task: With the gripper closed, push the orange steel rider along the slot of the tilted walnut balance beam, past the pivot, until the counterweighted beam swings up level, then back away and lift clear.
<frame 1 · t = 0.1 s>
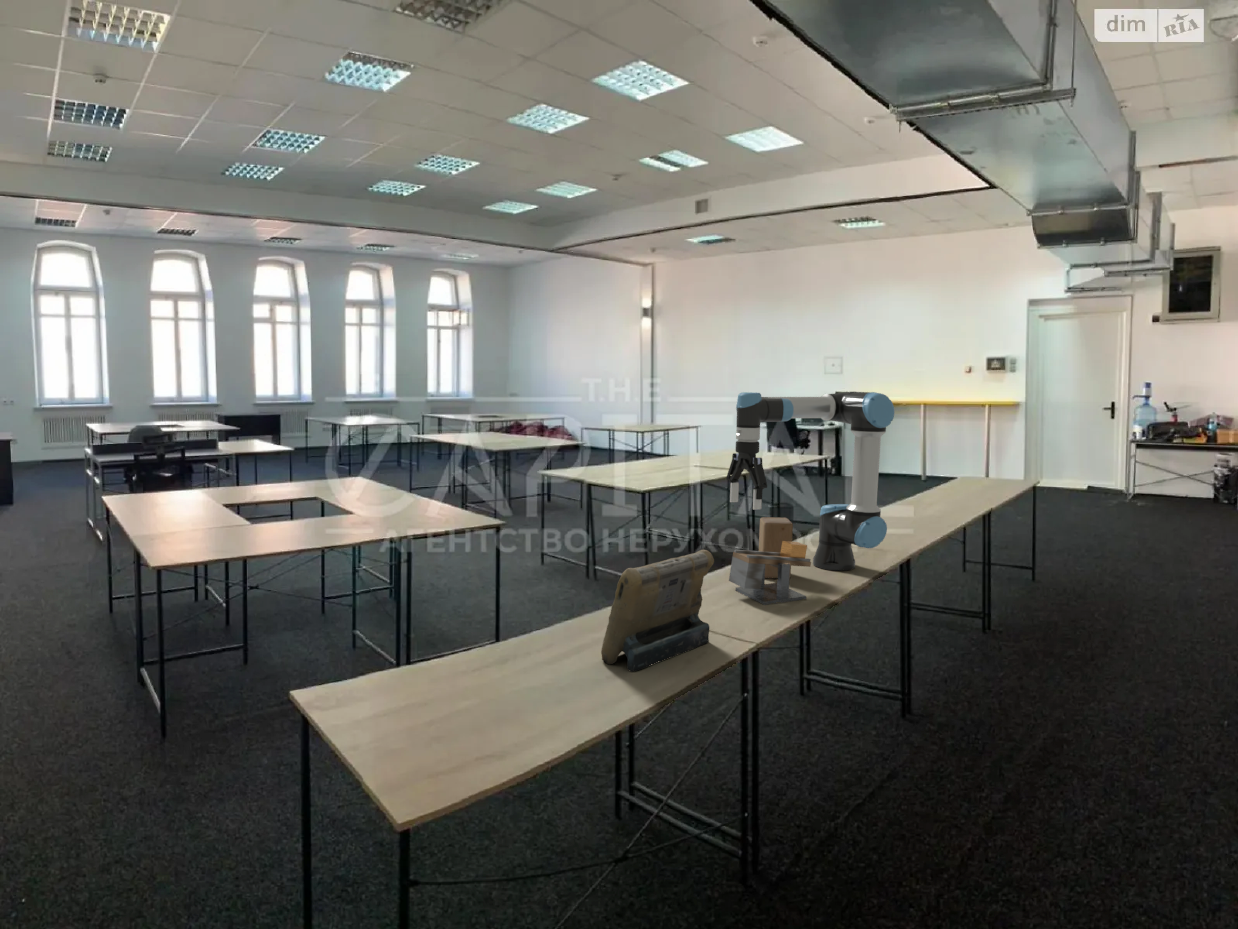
hand: (745, 505, 246), 28 cm above the table, tool pointing down, fingers open, 13 cm apart
wooden block: (773, 576, 267), on the table
beam: (770, 570, 242), point 8 cm above the table, hinge at -8.2°, touching rider
pivot stand: (770, 594, 244), on the table
tablet: (658, 652, 194), on the table
rider: (792, 558, 246), point 11 cm above the table, tilted 8°, touching beam
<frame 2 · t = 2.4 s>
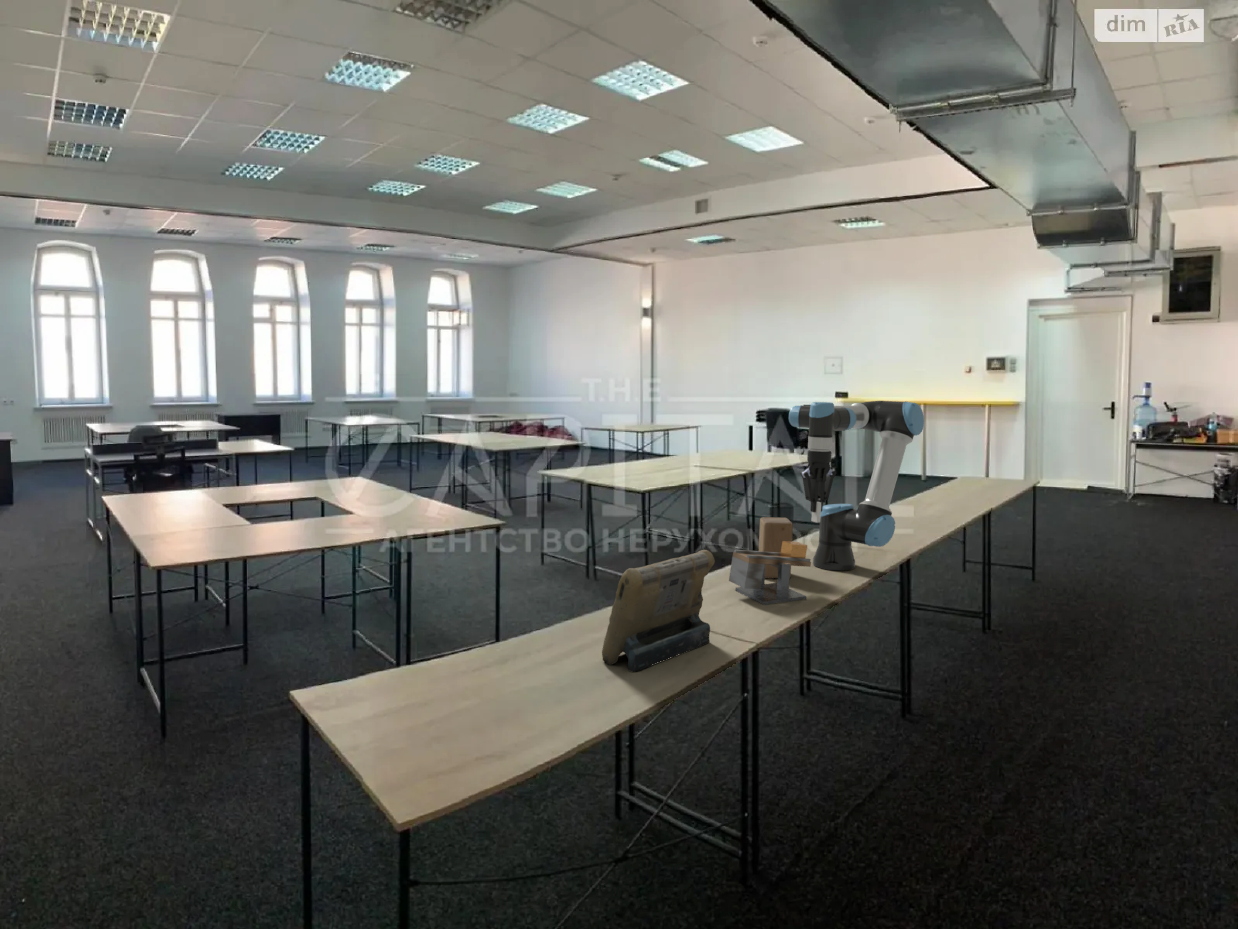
hand: (815, 521, 248), 23 cm above the table, tool pointing down, fingers closed
nothing on the table moved.
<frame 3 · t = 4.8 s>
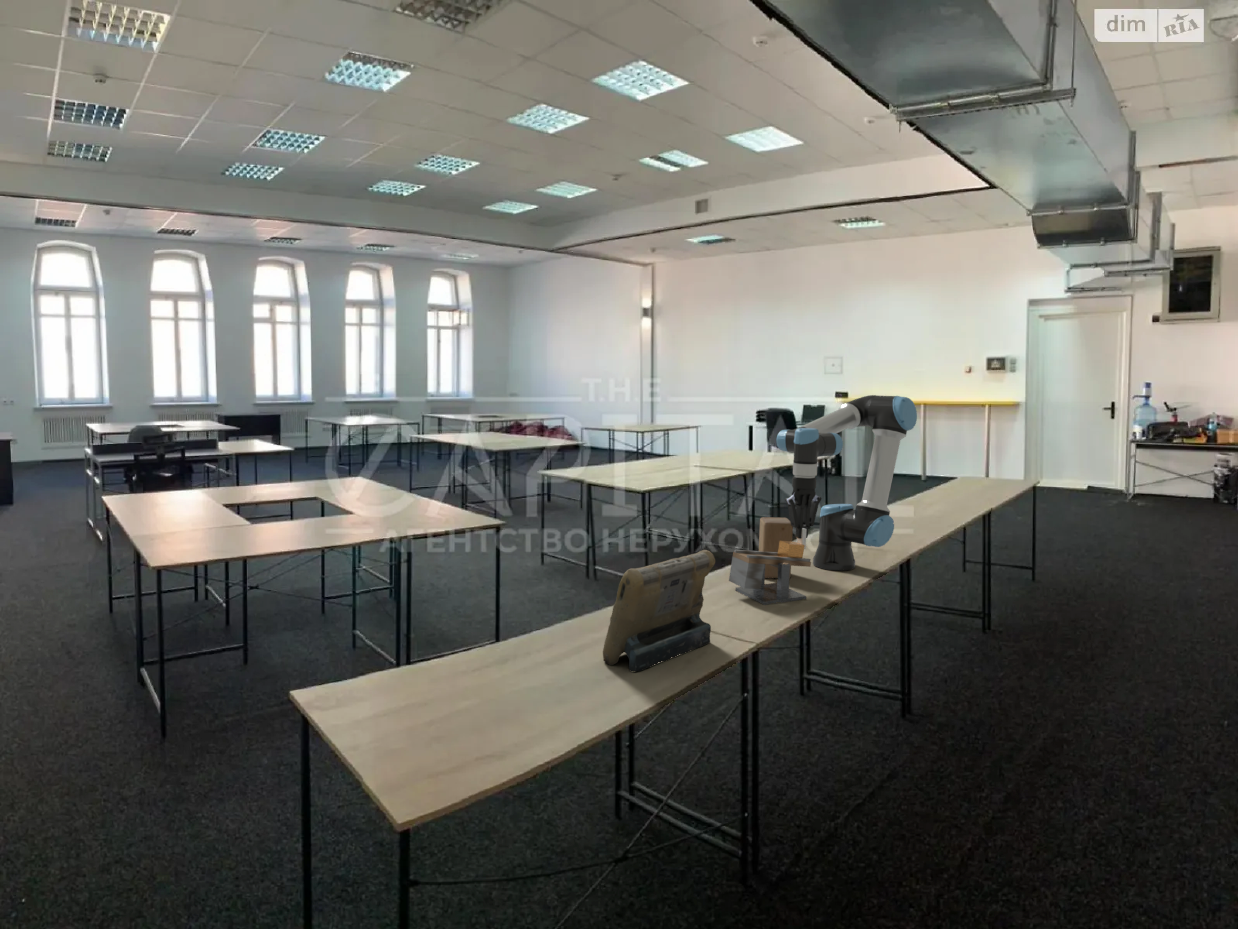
hand: (801, 547, 246), 15 cm above the table, tool pointing down, fingers closed
beam: (770, 570, 242), point 8 cm above the table, hinge at -8.1°
rider: (789, 558, 245), point 12 cm above the table, tilted 8°, touching gripper
everything else where it was.
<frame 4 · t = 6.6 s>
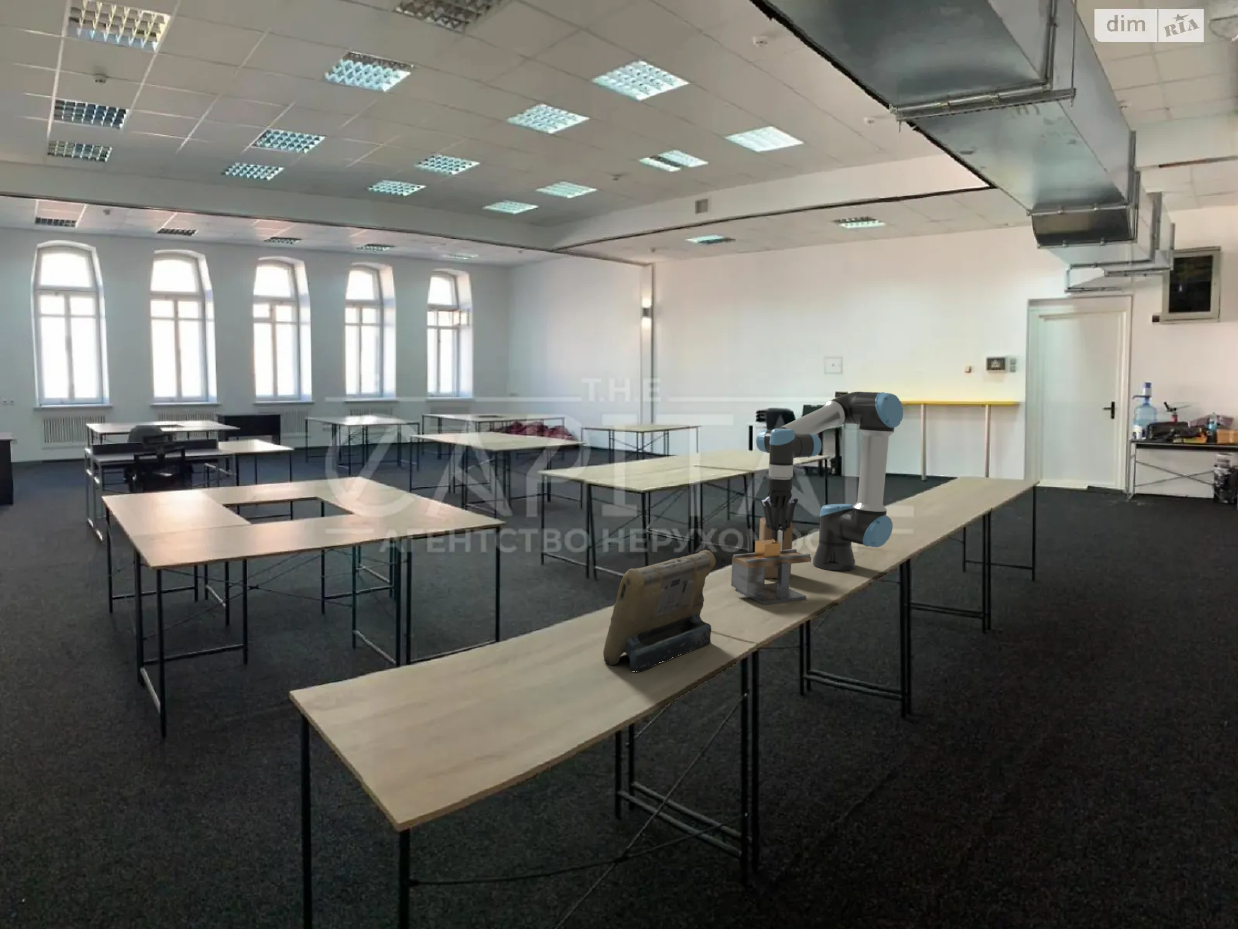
hand: (777, 550, 243), 15 cm above the table, tool pointing down, fingers closed
beam: (771, 570, 243), point 8 cm above the table, hinge at -0.2°, touching rider
rider: (767, 557, 241), point 13 cm above the table, touching beam, gripper
everything else where it was.
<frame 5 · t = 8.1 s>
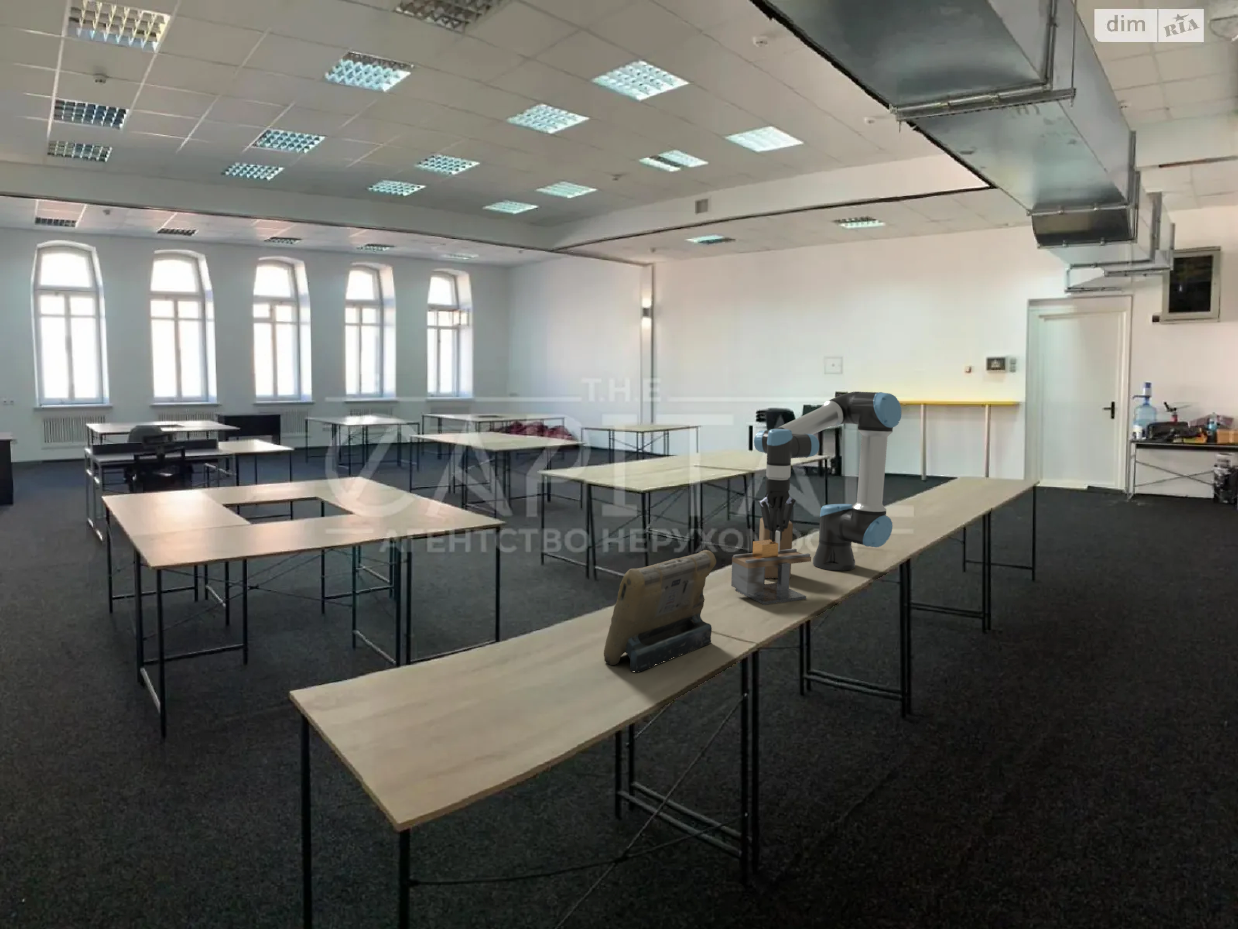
hand: (775, 550, 242), 14 cm above the table, tool pointing down, fingers closed
beam: (771, 570, 243), point 8 cm above the table, hinge at 0.1°, touching rider
everything else where it was.
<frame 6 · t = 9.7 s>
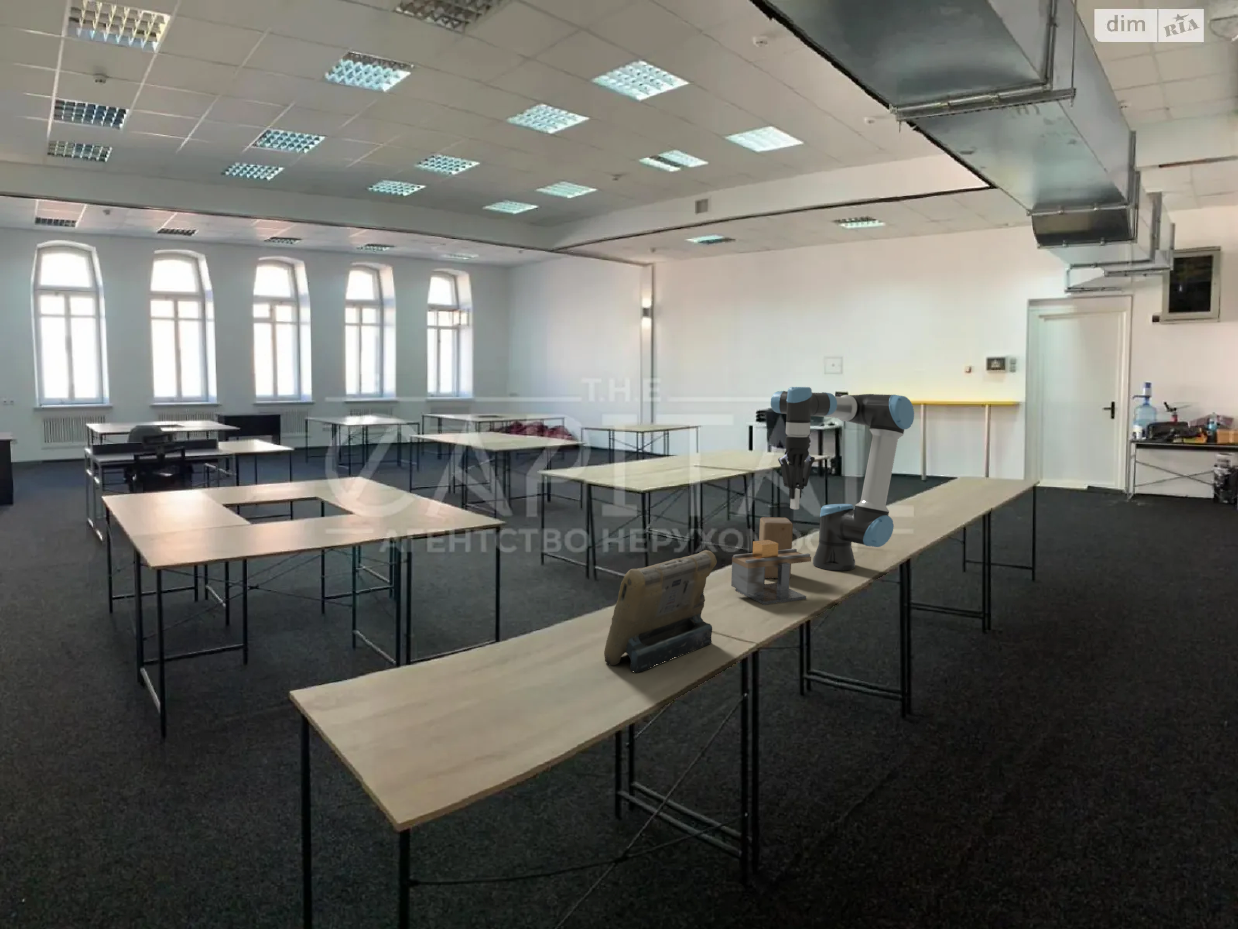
hand: (794, 508, 244), 28 cm above the table, tool pointing down, fingers closed
rider: (765, 557, 241), point 12 cm above the table, touching beam
everything else where it was.
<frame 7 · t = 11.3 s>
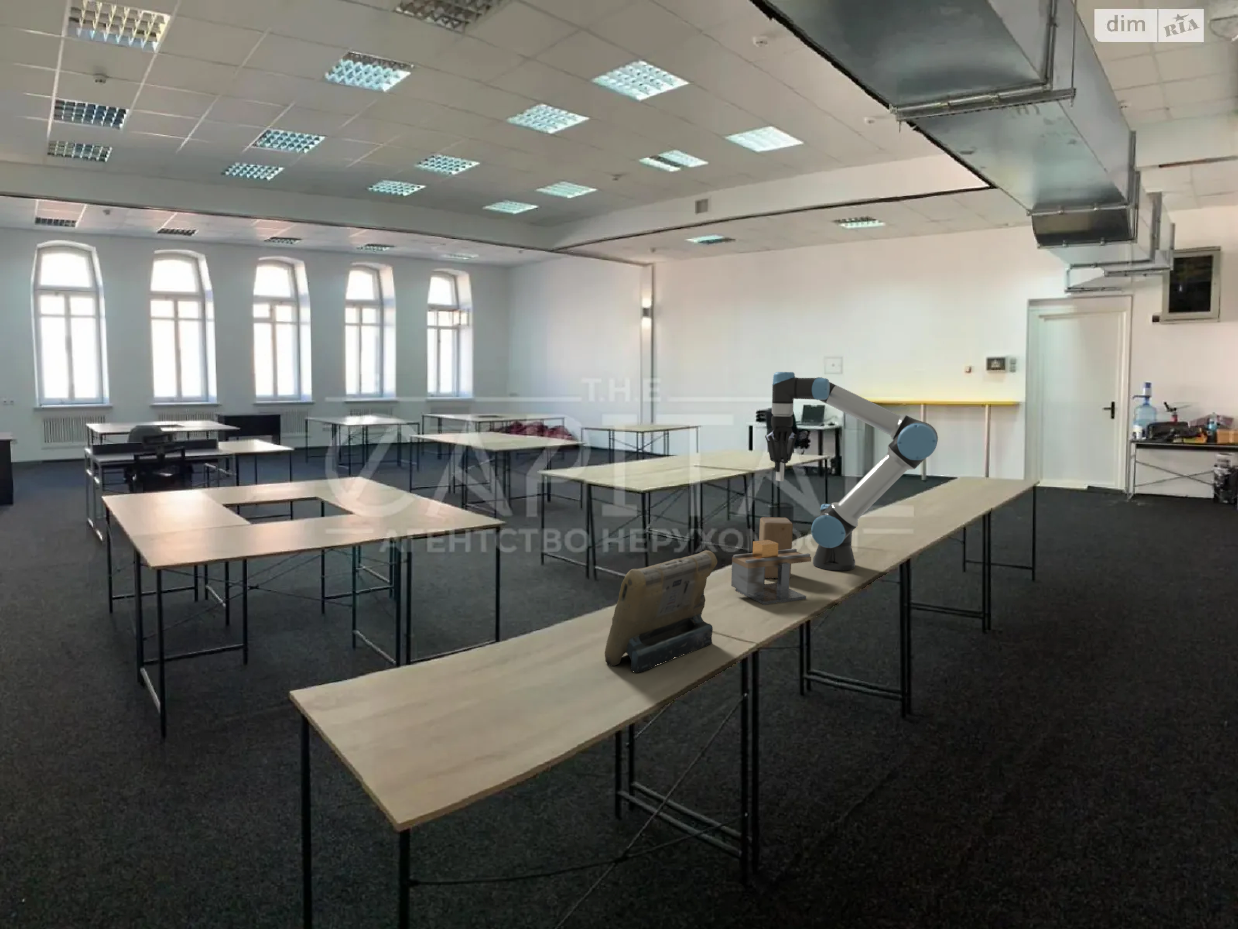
hand: (779, 480, 273), 32 cm above the table, tool pointing down, fingers closed
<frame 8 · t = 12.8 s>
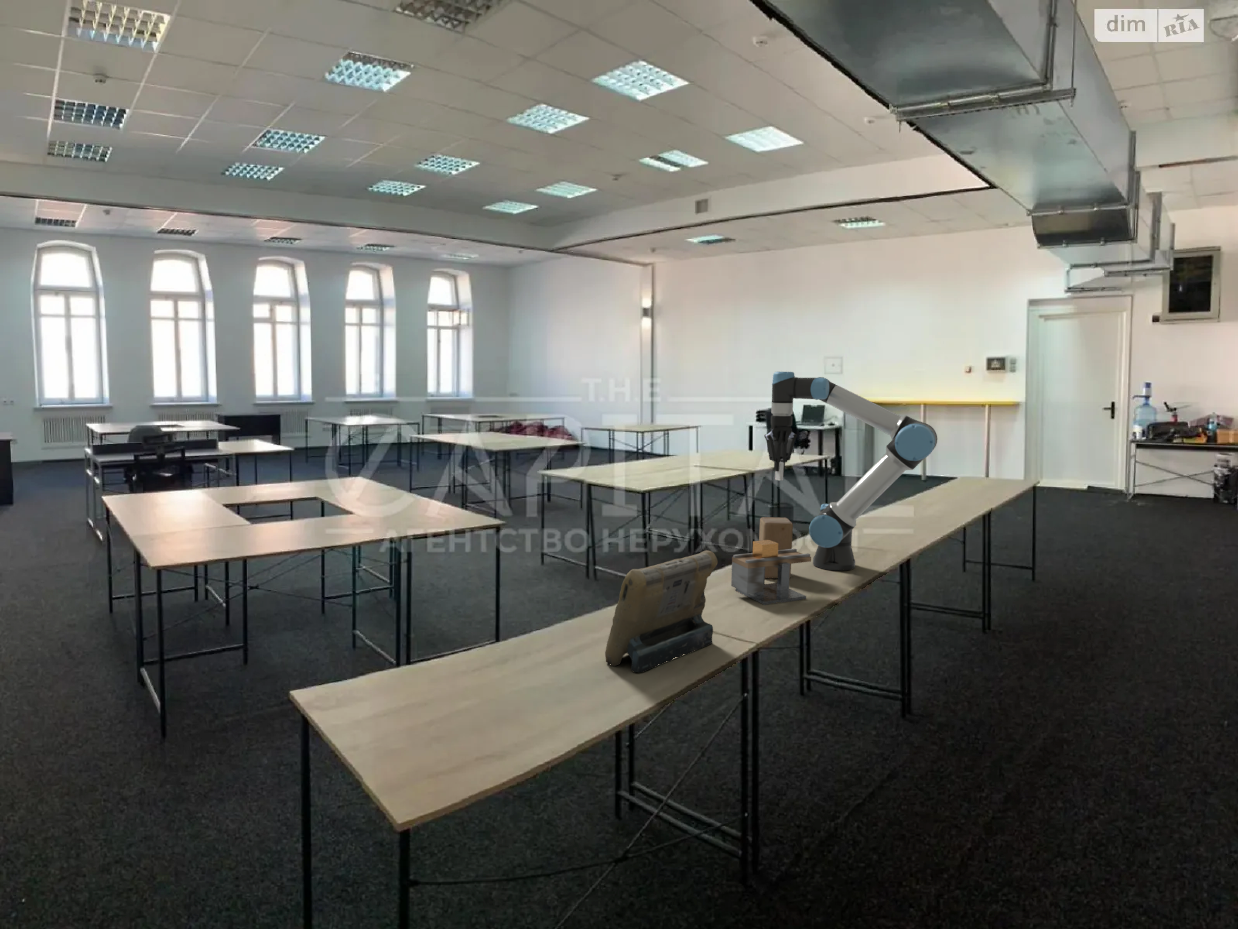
hand: (778, 479, 274), 32 cm above the table, tool pointing down, fingers closed
at the end: beam at +0° (first picture: -8°); rider inside the target area on the beam (0.4 cm from its centre), point 1.5 cm above the beam's base; rider tilted 0° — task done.
